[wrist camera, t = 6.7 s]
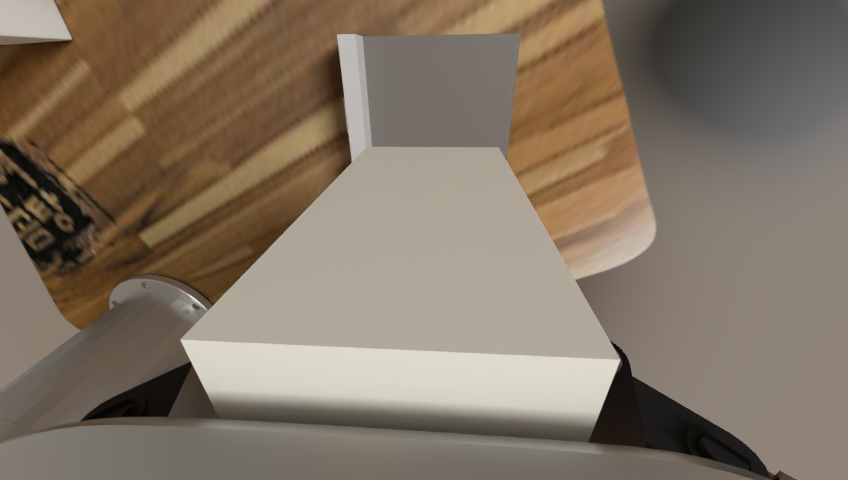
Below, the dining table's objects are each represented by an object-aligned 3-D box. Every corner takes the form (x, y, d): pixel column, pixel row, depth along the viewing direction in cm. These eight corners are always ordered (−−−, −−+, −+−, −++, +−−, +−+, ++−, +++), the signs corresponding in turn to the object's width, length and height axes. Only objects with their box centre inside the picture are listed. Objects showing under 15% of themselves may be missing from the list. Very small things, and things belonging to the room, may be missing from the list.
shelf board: (491, 269, 33) (496, 290, 30) (372, 266, 34) (364, 286, 31) (516, 35, 23) (526, 31, 20) (348, 38, 24) (334, 34, 21)
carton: (484, 295, 16) (528, 594, 7) (376, 292, 16) (286, 572, 7) (498, 147, 12) (620, 359, 4) (361, 146, 13) (162, 339, 4)
